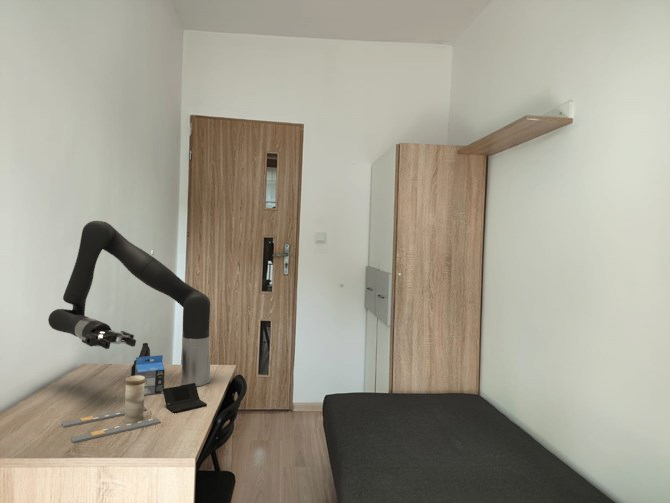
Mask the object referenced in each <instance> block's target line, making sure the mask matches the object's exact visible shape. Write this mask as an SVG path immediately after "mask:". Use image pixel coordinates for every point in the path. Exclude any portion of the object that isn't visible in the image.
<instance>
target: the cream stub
mask: <svg viewBox="0 0 670 503" xmlns="http://www.w3.org/2000/svg"><path fill="white" fill-rule="evenodd" d="M144 384H145V377H144V376H140V375H136V376H131V375H130V376H128V377H126V378H125V395H124V397H125V398H124V410H125V415H124V422H127V423H137V422H140V421H143V420H144V412H145V411H144V407H145V395H144Z"/></svg>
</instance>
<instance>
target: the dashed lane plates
mask: <svg viewBox="0 0 670 503" xmlns="http://www.w3.org/2000/svg"><path fill="white" fill-rule="evenodd" d="M146 411H147V408H146V407H145V406H144V412H146ZM122 416H125V409H121V410H118V411H112V412H106V413H101V414H95V415H90V416H86V417H80V418H76V419H71V420H68V421H67V420H65V421H62V422H61V425H62V427H63V428H68V427H74V426H78V425H82V424H89V423H93V422H97V421H102V420H107V419H113V418H116V417H122ZM161 423H162V422H161V420H160V419H159V418H158V417H156V418H149V419H146V420H141V421H138V422H132V423H127V424H124V425H121V426H120V425H118V426H114V427H111V428H104V429H101V430H96V431H91V432H88V433H85V434H79V435H75V436H74V435H73V436H71V437H70V440H71V442H72V443H73V444H75V443H80V442H85V441H89V440H93V439H98V438H102V437H106V436H111V435H115V434H119V433H124V432H128V431H133V430H136V429H141V428H145V427H150V426H153V425H154V426H155V425H159V424H161Z"/></svg>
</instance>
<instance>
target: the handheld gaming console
mask: <svg viewBox="0 0 670 503" xmlns="http://www.w3.org/2000/svg"><path fill="white" fill-rule="evenodd" d="M197 387H198V386H196V384H195V383H191V384H186V385H182V384H181V385H177V386H171V387H167V388H165V387H164V389H163V393H162V394H163V397H164V402H165V405H166V407H165V409H166V410H168V411H170V412H171V413H172V414H173V413H174V415H175V413H176V414H179V413H184V412H188V411H193V410H197V409H201V408H206V407H207V405H208V404H207V402H205V401H203V400H201V398H200V395H199V392H198V388H197Z"/></svg>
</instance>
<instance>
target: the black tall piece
mask: <svg viewBox="0 0 670 503" xmlns="http://www.w3.org/2000/svg"><path fill="white" fill-rule="evenodd" d="M146 356H151V350H150V347H149V343H148V342H143V343H142V347H141V350H140V353H139V355H138V357H146ZM147 361H151V359H148V360H145V362H147ZM135 367H136V359H135V360H134V361H133V365H132V366H131V368H130V369H131V373H130V376H135Z"/></svg>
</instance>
